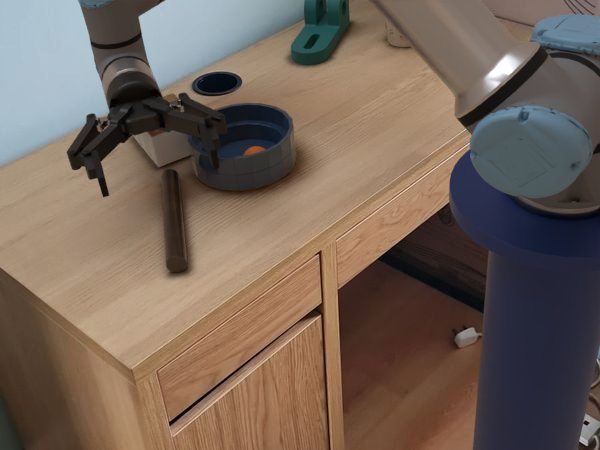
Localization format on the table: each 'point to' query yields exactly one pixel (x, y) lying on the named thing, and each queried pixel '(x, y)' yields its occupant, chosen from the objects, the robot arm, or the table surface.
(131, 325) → the table surface
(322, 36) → the bracket
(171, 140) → the small box
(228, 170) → the bowl
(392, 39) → the mug
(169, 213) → the stick
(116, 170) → the table surface
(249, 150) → the ball
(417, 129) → the table surface
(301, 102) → the table surface
